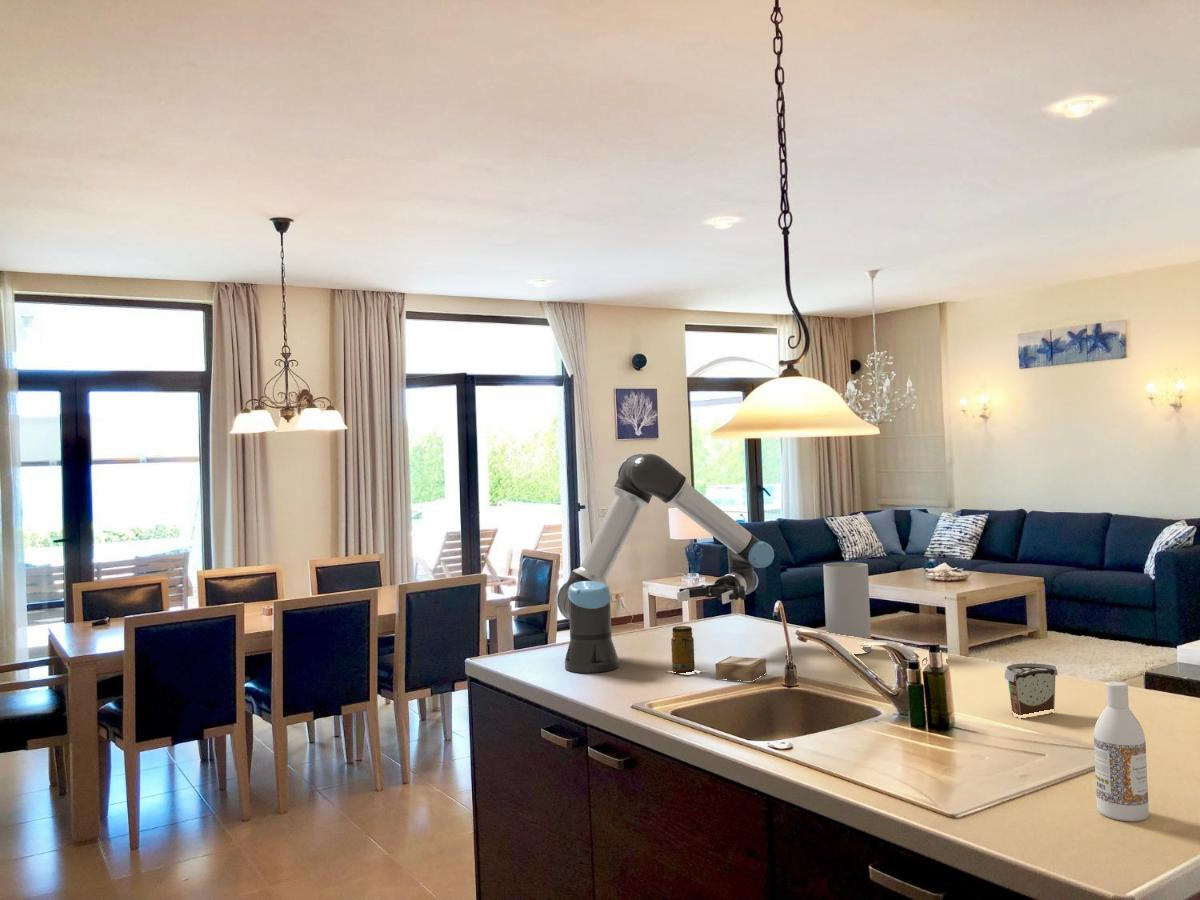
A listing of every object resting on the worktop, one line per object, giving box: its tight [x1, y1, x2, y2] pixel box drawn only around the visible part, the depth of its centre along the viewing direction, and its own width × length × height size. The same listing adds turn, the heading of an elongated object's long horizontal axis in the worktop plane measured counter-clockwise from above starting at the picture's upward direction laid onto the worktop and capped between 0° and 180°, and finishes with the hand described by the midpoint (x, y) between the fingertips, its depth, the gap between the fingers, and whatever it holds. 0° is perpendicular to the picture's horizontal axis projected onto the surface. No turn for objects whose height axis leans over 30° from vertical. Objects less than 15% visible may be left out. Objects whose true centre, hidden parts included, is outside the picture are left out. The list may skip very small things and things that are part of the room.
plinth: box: [714, 656, 767, 682], centre depth 244 cm, size 10×10×4 cm
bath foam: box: [1093, 680, 1150, 822], centre depth 143 cm, size 7×7×20 cm
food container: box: [1003, 662, 1059, 715], centre depth 200 cm, size 12×6×10 cm, turn 111°
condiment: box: [665, 625, 696, 673], centre depth 252 cm, size 7×8×12 cm
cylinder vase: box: [822, 562, 872, 654], centre depth 271 cm, size 12×12×25 cm
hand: (700, 598), depth 260 cm, fingers open, 13 cm apart
